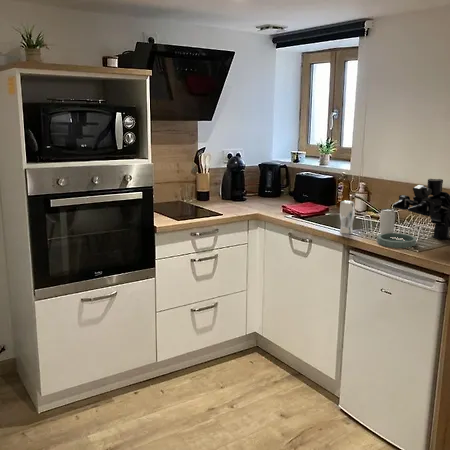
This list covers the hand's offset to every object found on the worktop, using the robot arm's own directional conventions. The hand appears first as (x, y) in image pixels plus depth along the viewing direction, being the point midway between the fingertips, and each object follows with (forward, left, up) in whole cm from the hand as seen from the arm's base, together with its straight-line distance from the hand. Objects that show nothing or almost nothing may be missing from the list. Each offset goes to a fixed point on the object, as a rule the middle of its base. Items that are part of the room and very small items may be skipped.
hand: (400, 207), depth 216 cm
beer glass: (+7, -27, -17) cm, 33 cm away
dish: (-1, -2, -17) cm, 17 cm away
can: (-7, -15, -17) cm, 24 cm away
